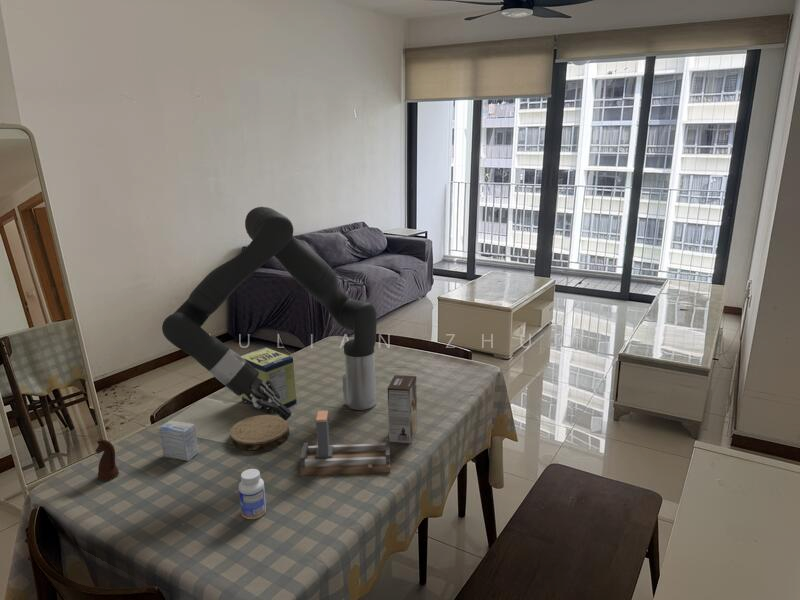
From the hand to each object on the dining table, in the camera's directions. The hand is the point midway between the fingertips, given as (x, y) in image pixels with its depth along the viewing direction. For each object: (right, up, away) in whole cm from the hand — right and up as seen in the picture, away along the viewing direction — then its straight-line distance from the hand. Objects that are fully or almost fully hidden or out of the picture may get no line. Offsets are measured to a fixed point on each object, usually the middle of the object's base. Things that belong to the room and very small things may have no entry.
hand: (289, 416), depth 137 cm
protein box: (-14, -4, +39) cm, 42 cm away
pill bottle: (-5, -18, -15) cm, 24 cm away
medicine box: (-30, -12, +9) cm, 34 cm away
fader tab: (+8, -11, +3) cm, 14 cm away
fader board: (+14, -13, +4) cm, 19 cm away
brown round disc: (-11, -10, +18) cm, 23 cm away
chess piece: (-44, -15, 0) cm, 47 cm away
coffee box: (+28, -9, +17) cm, 34 cm away
